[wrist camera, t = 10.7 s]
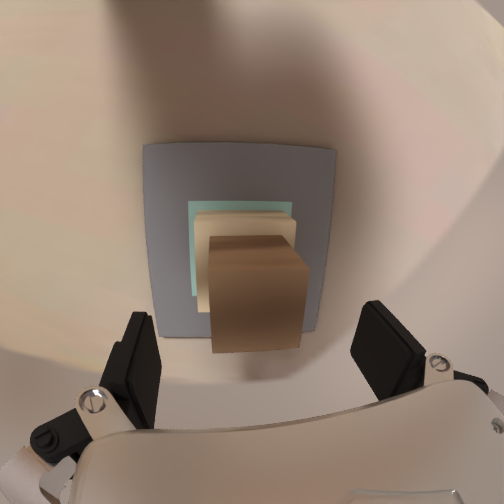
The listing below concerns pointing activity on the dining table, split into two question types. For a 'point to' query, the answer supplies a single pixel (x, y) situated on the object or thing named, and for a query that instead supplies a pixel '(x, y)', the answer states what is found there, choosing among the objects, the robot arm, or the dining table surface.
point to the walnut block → (255, 293)
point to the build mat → (229, 198)
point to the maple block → (233, 225)
